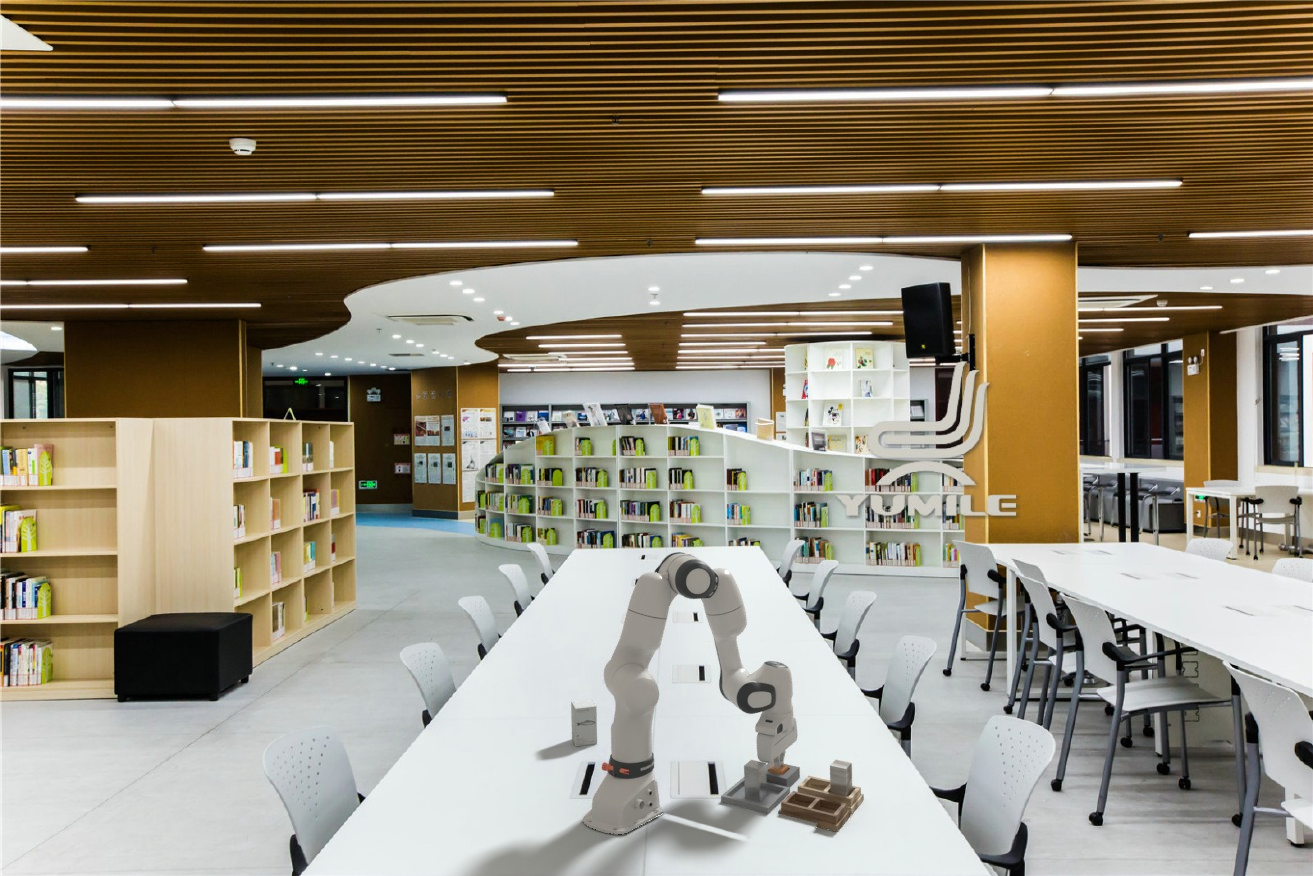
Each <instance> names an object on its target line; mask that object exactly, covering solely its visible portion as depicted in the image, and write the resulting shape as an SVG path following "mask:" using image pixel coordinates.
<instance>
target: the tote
mask: <svg viewBox="0 0 1313 876" xmlns="http://www.w3.org/2000/svg"><path fill="white" fill-rule="evenodd" d="M790 793H791V787H785V786H781V785H777V784H773V783H769V782H767V796H766V797H765V798H764V799H763V800H762V801H761V802H756V801H752V800H749V799H745V787H744V776H743V777H741V779H740V780H739V781H737V782H736V783H734V785H733V786H731V787H730V788H728V790H726V791H725V792H723V794H721V795H720V802H721V803H724V804H728V805H732V806H737V807H739V808H744V809H748V810H751V811H756V812H759V813H764V814H767V815H769V814H770V813H771V812H772V811H773V810H775V808H776V807H777V806H778V805H780V804H781V802H782V801H783V800H784V799H785V798H786V797H787V796H788V795H789V794H790Z"/></svg>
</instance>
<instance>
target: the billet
mask: <svg viewBox="0 0 1313 876" xmlns="http://www.w3.org/2000/svg"><path fill="white" fill-rule="evenodd" d="M766 765H767V763H765V762H761V761H759V760H754V759H750V760H749V761H747V762H746V763H745V764H744V765H743V774H744V775H743V777H744V787H745V799H749V800H752V801H756V802H761V801H762V800H763V799H764V798H765V797H766V796H767V777H766Z"/></svg>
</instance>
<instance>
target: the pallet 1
mask: <svg viewBox="0 0 1313 876" xmlns="http://www.w3.org/2000/svg"><path fill="white" fill-rule="evenodd" d="M829 779H830V780H829ZM829 779H826V778H825V779H824V778H821V777H817V776H811V775H808V776H806V778H805V779H804V780H803V781H802V782H801V783H800V784H798V785H797V792H800V793H804V794H808V795H812V796H817V797H821V798H825V799H829V800H833V801H837V802H841V803H846V804H847V810H849V811H850V815H853V813H854V812H855V811H856V810H857V809H858V808H859V806H860V805H861V804H862V803H863V801H864V800H865V799H864V793H862V789H861V788H862V787H860V786H855V785H853V763H852V762H849V761H844V760H841V759H840V760H839V759H834V761H833V762H832V763H830V764H829Z"/></svg>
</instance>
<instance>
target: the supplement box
mask: <svg viewBox="0 0 1313 876" xmlns="http://www.w3.org/2000/svg"><path fill="white" fill-rule="evenodd" d="M570 707H571V709H570V710H571V711H570V712H571V713H570V716H571V740H572V742H573V744H574V746H575V747H576V746H577V747H582V746H590V745H598V723H597V722H598V721H597V720H598V718H597V715H598V712H597V710H598V709H597V708H598V707H597V704H596V703H595V702H594V699H588V700H587V699H586V700H578V701H577V700H576V701H570Z"/></svg>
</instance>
